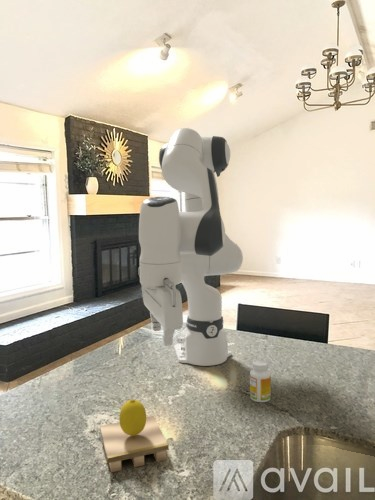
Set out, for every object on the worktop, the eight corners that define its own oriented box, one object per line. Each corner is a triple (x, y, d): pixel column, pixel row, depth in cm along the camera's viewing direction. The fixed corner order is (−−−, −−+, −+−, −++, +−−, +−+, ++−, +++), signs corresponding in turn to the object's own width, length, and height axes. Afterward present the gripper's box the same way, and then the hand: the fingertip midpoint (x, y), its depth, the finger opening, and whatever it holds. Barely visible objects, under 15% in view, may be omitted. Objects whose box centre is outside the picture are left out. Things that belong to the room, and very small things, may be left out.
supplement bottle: (271, 394, 105) (272, 359, 104) (269, 404, 100) (269, 367, 99) (251, 392, 107) (251, 357, 106) (248, 401, 102) (248, 365, 101)
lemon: (121, 429, 84) (119, 393, 83) (147, 428, 85) (146, 392, 84) (118, 445, 79) (117, 406, 78) (146, 443, 79) (145, 405, 78)
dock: (100, 438, 86) (99, 425, 86) (153, 428, 90) (153, 415, 90) (108, 473, 75) (107, 458, 74) (168, 459, 79) (168, 444, 78)
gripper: (190, 283, 75) (191, 352, 76) (162, 265, 94) (163, 321, 96) (158, 285, 73) (159, 357, 74) (136, 267, 92) (138, 324, 94)
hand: (161, 336), depth 85 cm, fingers open, 8 cm apart
